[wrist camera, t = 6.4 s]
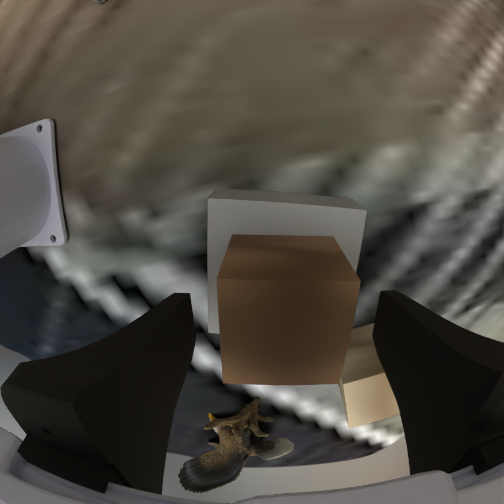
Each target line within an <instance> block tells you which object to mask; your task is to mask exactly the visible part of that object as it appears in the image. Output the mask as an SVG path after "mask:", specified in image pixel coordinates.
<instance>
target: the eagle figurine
mask: <svg viewBox="0 0 504 504" xmlns="http://www.w3.org/2000/svg"><path fill="white" fill-rule="evenodd" d="M259 401H260V399H259V398H258V397H256V398H255V399H254V400H253V401H252V402H251V403H248V404H247V405H246V406H245V407H243V409H242V411H241V412H240V413H238V414H237V415H236V416H232V417H229V418H223V419H217V418H215V417H214V416H213V415H212V414H211V413H209V417H210V422H209V423H207V424H206V425H205V426H204V429H205V430H208V429H212V428H213V429H214V430H215V432H216V433H217V434H218V435H219V438H220V443H212V442H208V444H211V446H215V447H216V449H215V450H213V451H211V452H207V453H204V454H202V455H201V456H200V457H198V458H193V459H191V460H188V461H187V462H185V463H184V465H183V468H182V469H181V470H180V474H178V477H179V478H180V483H181V484H182V487H184V488H185V490H189V491H192V492H194V493H195V492H197V493H199V492H200V493H203V492H208V491H210V490H212V489H215V488H218V487H221V486H223V485H225V484H227V483H230V482H232V481H234V480H235V479H237V478H238V476H239V474H240V472H241V470H242V469H243V466H244V464H245V462H246V461H247V459H248V457H249V456H254V455H258V456H260V457H261V458H263V459H264V460H270V459H275V458H277V457H280V456H283V455H285V454H288V453H289V452H291V451H292V450H293V446H294V444H293V443H292V442H290V440H288V439H286V438H277V439H272V440H268V441H263V440H261V439H260V438H259V437H266V436H269V433H264V432H262V431H261V430H260V429H259V427H258V421H263V422H271V421H273V419H272V418H271V417H262V416H261V415H259V414H257V411H258V410H257V408H258V404H259Z"/></svg>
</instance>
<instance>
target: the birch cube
mask: <svg viewBox="0 0 504 504" xmlns="http://www.w3.org/2000/svg"><path fill="white" fill-rule="evenodd" d="M373 327H374V323H372V324H369V325H365V326H362V327H358V328H355V329H352V331H351V336H350V340H349V345H348V349H347V354H346V358H345V362H344V366H343V370H342V374H341V378H340V382H339V387H340V392H341V396H342V400H343V404H344V409H345V413H346V417H347V422H348V426H349V428H352V427H356V426H360V425H364V424H367V423H371V422H374V421H378V420H381V419H384V418H387V417H390V416H394V415H397V414H400V412H399V408H398V405H397V402H396V399H395V396H394V394H393V391H392V389H391V386H390V384H389V382H388V379H387V377H386V375H385V372H384V370H383V367H382V365H381V363H380V360H379V358H378V355H377V352H376V348H375V345H374V341H373V337H372V332H373Z"/></svg>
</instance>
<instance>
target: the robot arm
mask: <svg viewBox="0 0 504 504" xmlns="http://www.w3.org/2000/svg"><path fill="white" fill-rule="evenodd" d="M41 125H42V131H41V130H40V127H41ZM54 236H55V237H56V240H55V239H54ZM66 242H67V233H66V227H65V222H64V216H63V210H62V204H61V197H60V189H59V181H58V173H57V162H56V150H55V135H54V122H53V120H52V119H43V120H40V121H37V122H34V123H31V124H28V125H25V126H23V127H20V128H17V129H15V130H12V131H9V132H7V133H4V134H2V135H0V258H1V257H3V256H5V255H6V254H8V253H10V252H11V251H13V250H14V249H16V248H18V247H30V246H61V245H64V244H65V243H66ZM372 337H373V341H374V345H375V348H376V352H377V355H378V358H379V360H380V363H381V365H382V367H383V370H384V372H385V375H386V377H387V379H388V382H389V384H390V386H391V389H392V391H393V394H394V396H395V399H396V402H397V405H398V408H399V412H400V416H401V420H402V424H403V428H404V433H405V439H406V444H407V450H408V458H409V466H410V476H406V477H402V478H397V479H393V480H389V481H384V482H379V483H374V484H368V485H363V486H357V487H350V488H343V489H335V490H327V491H326V490H325V491H314V492H300V493H283V494H274V495H263V496H255V497H252V498H248V499H245V500H241V501H237V502H236V503H234V504H504V343H503V342H500V341H496V340H493V339H490V338H487V337H484V336H481V335H479V334H476V333H474V332H471V331H469V330H467V329H464V328H462V327H460V326H458V325H456V324H454V323H452V322H450V321H448V320H446V319H444V318H443V317H441V316H439V315H437V314H436V313H434V312H432V311H430V310H429V309H427V308H425V307H424V306H422V305H420V304H419V303H417V302H416V301H414V300H412V299H411V298H409V297H407V296H405V295H403V294H402V293H400V292H397V291H395V290H392V291H381V292H380V297H379V303H378V308H377V313H376V318H375V323H374V327H373V332H372ZM195 341H196V332H195V326H194V319H193V312H192V305H191V297H190V293H173V294H172V295H170V296H169V297H167V298H166V299H164V300H163V301H162V302H160V303H159V304H157V305H156V306H155V307H153V308H152V309H150V310H149V311H148V312H146V313H145V314H143V315H142V316H141V317H139V318H137V319H136V320H134V321H133V322H131V323H130V324H128V325H127V326H125V327H123V328H122V329H120V330H118V331H117V332H115V333H113V334H111V335H109V336H107V337H105V338H103V339H101V340H99V341H97V342H94V343H92V344H89V345H87V346H84V347H82V348H79V349H77V350H74V351H71V352H68V353H64V354H61V355H57V356H54V357H49V358H45V359H39V360H34V361H29V362H21V363H20V364H19V365H18V366H17V367H16V368H15V370H14V371H13V372H12V373H11V375H10V376H9V377H8V379H7V380H6V381H5V382H4V383H3V385H2V386H1V396H2V398H3V401H4V403H5V405H6V406H7V408H8V410H9V411H10V413H11V414H12V415H13V417H14V418H15V420H16V421H17V422H18V424H19V425H20V426H21V428H22V429H23V430H24V432H25V433H26V434H27V435H26V437H25V439H24V441H22V440H21V439H20V438H19V437H17V436H16V435H14V434H12V433H11V432H8V431H7V430H5V429H3V428H1V427H0V504H229V503H216V502H206V501H197V500H190V499H183V498H176V497H171V496H165V495H162V485H163V474H164V467H165V459H166V452H167V446H168V441H169V435H170V429H171V425H172V420H173V415H174V411H175V407H176V404H177V401H178V398H179V395H180V392H181V389H182V386H183V384H184V381H185V378H186V375H187V372H188V369H189V366H190V363H191V360H192V357H193V352H194V347H195Z"/></svg>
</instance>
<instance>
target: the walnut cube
mask: <svg viewBox="0 0 504 504" xmlns="http://www.w3.org/2000/svg"><path fill="white" fill-rule="evenodd" d="M216 281H217V300H218V317H219V332H220V347H221V361H222V373H223V383H233V384H257V385H317V384H339V382H340V378H341V374H342V370H343V366H344V362H345V358H346V354H347V349H348V345H349V340H350V336H351V331H352V326H353V321H354V316H355V311H356V305H357V300H358V294H359V288H360V282H361V281H360V279H359V278H358V276H357V274H356V273H355V271H354V269H353V268H352V266H351V264H350V263H349V261H348V259H347V258H346V256H345V254H344V253H343V251H342V249H341V248H340V246H339V245H338V243H337V241H336V240H335V238H334V237H333V236H296V235H244V234H232V236H231V239H230V242H229V245H228V247H227V250H226V253H225V256H224V259H223V262H222V264H221V267H220V270H219V273H218V276H217V279H216Z"/></svg>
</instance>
